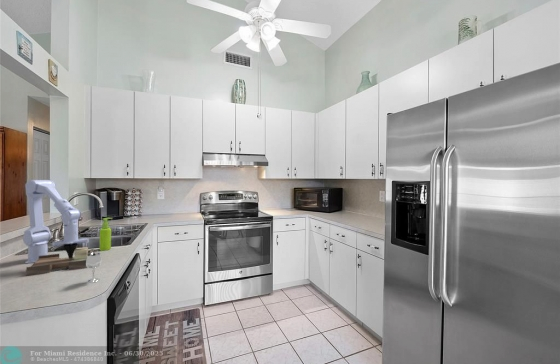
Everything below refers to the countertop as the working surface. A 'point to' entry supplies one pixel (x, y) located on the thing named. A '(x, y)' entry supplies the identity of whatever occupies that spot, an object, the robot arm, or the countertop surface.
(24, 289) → the countertop surface
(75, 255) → the maple block
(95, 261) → the wineglass
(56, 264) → the track
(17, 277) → the countertop surface
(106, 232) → the soap dispenser
